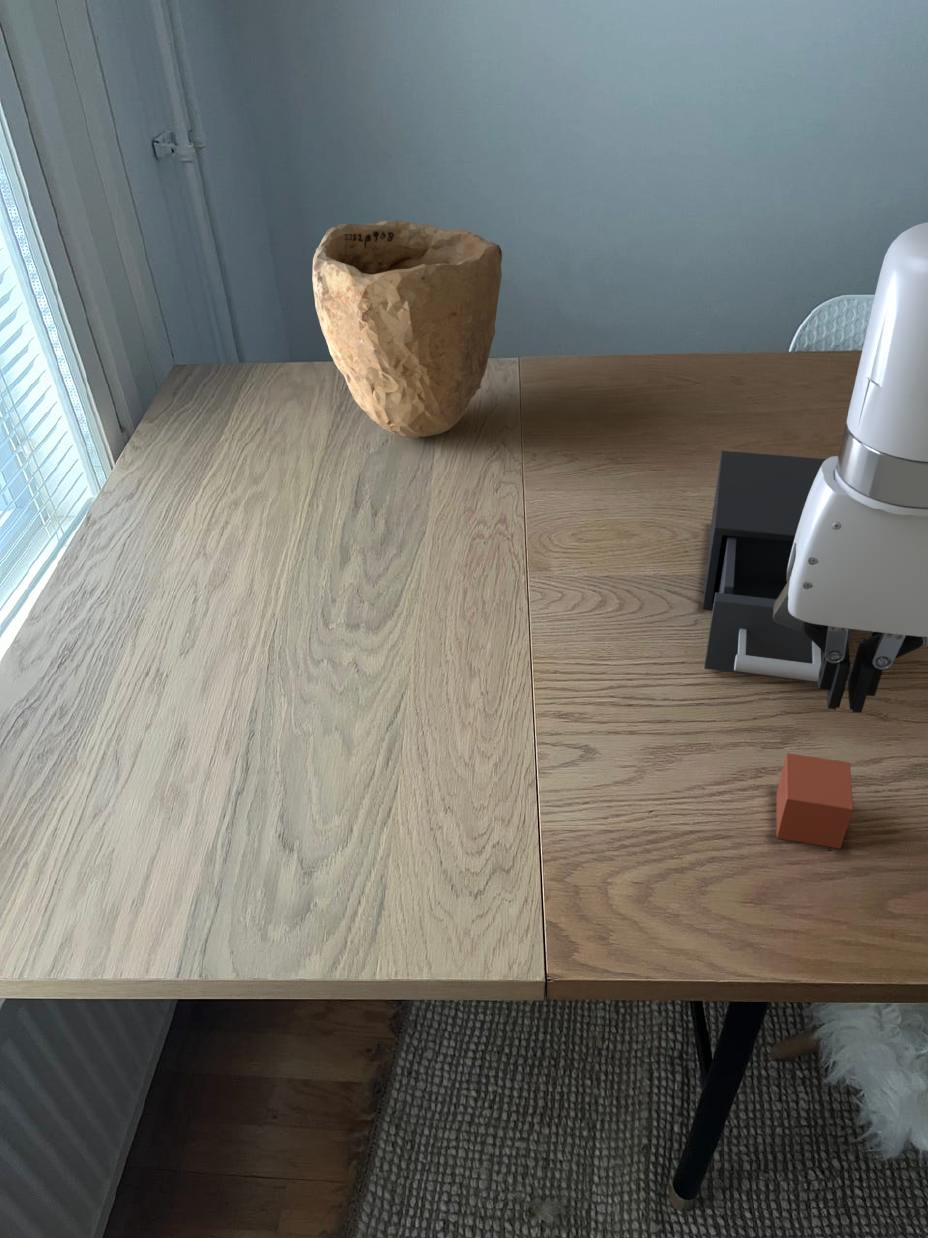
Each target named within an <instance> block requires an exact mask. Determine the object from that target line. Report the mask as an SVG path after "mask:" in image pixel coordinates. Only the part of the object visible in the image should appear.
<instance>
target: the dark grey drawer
mask: <svg viewBox="0 0 928 1238" xmlns="http://www.w3.org/2000/svg"><path fill="white" fill-rule="evenodd" d="M792 546H793V542H786V541H776V540H766V539H756V538H746V537H736V536H726V541H725V547H724V554H723V560H722V566H721V573H720V579H719V592H718V593H715V599H714V605H713V610H712V612H711V619H710V625H709V632H708V637H707V639H708V640H707V644H706V651H705V658H704V667H703V669H704V670H709V671H710V670H711V671H718V672H725V673H733V674H740V675H741V674H743V675H748V676H749V675H750V676H755V677H756V676H757V677H765V678H771V679H779V680H786V681H794V682H795V681H796V682H802V683H811V684H817V685H818V676H819V670H820V666H821V663H822V659H823V655H824V652H823V651H822V650H821V649H820V648H819V647H818V646H817V645H816V644H815V643H814V642H813V641H812V640H811V639H810V638H809V637H808V636H807V635H806V633H805V631H802V630H799V631H798V630H796V629H793V628H790V627H787V626H784V625H782V624H779V623H777V622H775V621H774V620H773V605H774V603H775V601H776V600H777V598H778V597H779V595H780V593H781V592H782V590H783V589H784V587H785V585H786V584H787V579H786V577H787V568H788V563H789V558H790V554H791V550H792ZM854 630H855V629H848V635H847V638H848V644H849V645H850V644H851V641H852V637H853V633H854Z"/></svg>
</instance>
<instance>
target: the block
mask: <svg viewBox="0 0 928 1238" xmlns="http://www.w3.org/2000/svg"><path fill="white" fill-rule="evenodd" d="M852 786H853V785H852V773H851V763H850V762H849V761H843V760H835V759H828V758H821V757H815V756H807V755H801V754H794V753H786V754H785V757H784V761H783V765H782V770H781V773H780V777H779V782H778V786H777V789H776V839H780V840H785V841H791V842H797V843H804V844H810V845H816V846H821V847H828V848H834V849H839V850H841V848H842V845H843V842H844V839H845V836H846V832H847V830H848V827H849V824H850V822H851V818H852V815H853V812H854V798H853V787H852Z"/></svg>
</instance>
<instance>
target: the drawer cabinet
mask: <svg viewBox="0 0 928 1238" xmlns="http://www.w3.org/2000/svg"><path fill="white" fill-rule="evenodd" d="M826 459H827V458H817V457H816V458H815V457H807V456H806V457H804V456H791V455H781V454H780V455H779V454H769V453H768V454H767V453H755V452H743V451H730V450H721V453H720V460H719V467H718V472H717V481H716V486H715V487H716V488H715V494H714V495H715V496H714V501H713V508H712V515H711V523H710V529H709V531H710V532H709V541H708V549H707V550H708V551H707V561H706V571H705V582H704V590H703V591H704V592H703V602H702V609H703V610H704V609H705V610H712V611H713V605H714V599H715V593H718V592H719V579H720V573H721V566H722V560H723V554H724V547H725V541H726V536H736V537H746V538H756V539H766V540H776V541H786V542H794V539H795V535H796V532H797V528H798V524H799V521H800V518H801V515H802V512H803V508H804V506H805V503H806V500H807V497H808V494H809V492H810V489H811V487H812V484H813V482H814V480H815V477H816V475H817V473H818V471H819V469H820V467H821V465H822V464H823V462H824V461H825V460H826Z"/></svg>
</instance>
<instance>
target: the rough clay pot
mask: <svg viewBox="0 0 928 1238" xmlns="http://www.w3.org/2000/svg"><path fill="white" fill-rule="evenodd" d="M502 261H503V251H502V249H501V247H500V245H499V244H496V243H495V242H492V241H488V240H486V239H485V238H483V237H482V236H480V235H478V234H475V233H473V232H471V231H469V230H467V229H452V230H446V229H443V228H440V227H437V226H434V225H430V224H424V223H419V222H412V221H406V220H394V219H393V220H392V219H389V220H387V219H385V220H384V219H383V220H379V221H378V222H367V223H361V224H360V223H341V224H337V225H334V226H332V227H330V228H328V229H327V230H326V232H325V234H324V235H323V237H322V239H321V241H320V243H319V245H318V247H317V248H316V249H315V252H314V255H313V259H312V276H311V277H312V289H313V296H314V306H315V311H316V314H317V318H318V321H319V325H320V328H321V332H322V334H323V337H324V338H325V341H326V345H327V347H328V351H329V354H330V356H331V358H332V360H333V363H334V364H335V366H336V368H337V369H338V370H339V371H340V373H341V374H342V375H343V376H344V380H345V382H346V385H347V387H348V389H349V392H350V394H351V396H352V398H353V399H354V401H355V402H356V404H357V405H358V406H359V407H360V408H361V409H362V411H363V412H364V413H365V414H366V415H367V416H368V417H369V418H370V419H371V420H372V421H373V422H375V423H376V424H377V425H378V426H380V427H381V428H383V429H384V430H385V431H387V432H390V433H392V434H394V435H396V436H399V437H402V438H406V439H419V438H420V437H422V438H423V437H430V436H431V437H432V436H436V435H441V434H443V433H444V432H446V431H450V430H451V428H453V427H454V426H455V425H456V424H457V423H458V422H459V421H460V420H461V419H462V418H463V416H464V415H465V413H466V411H467V408H468V406H469V404H470V402H471V400H472V399H473V397H475V395H476V394H477V391H478V390H480V389H481V383H482V380H483V378H484V376H485V373H486V370H487V365H488V361H489V357H490V354H491V348H492V344H493V340H494V338H495V334H496V320H497V313H498V312H497V311H498V303H499V297H500V288H501V284H502V278H503V277H502V275H503V273H502Z"/></svg>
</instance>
